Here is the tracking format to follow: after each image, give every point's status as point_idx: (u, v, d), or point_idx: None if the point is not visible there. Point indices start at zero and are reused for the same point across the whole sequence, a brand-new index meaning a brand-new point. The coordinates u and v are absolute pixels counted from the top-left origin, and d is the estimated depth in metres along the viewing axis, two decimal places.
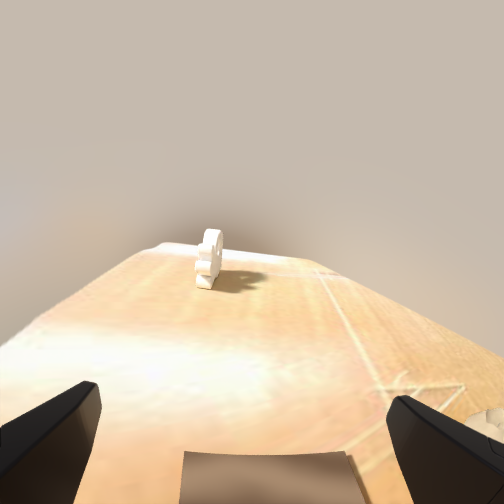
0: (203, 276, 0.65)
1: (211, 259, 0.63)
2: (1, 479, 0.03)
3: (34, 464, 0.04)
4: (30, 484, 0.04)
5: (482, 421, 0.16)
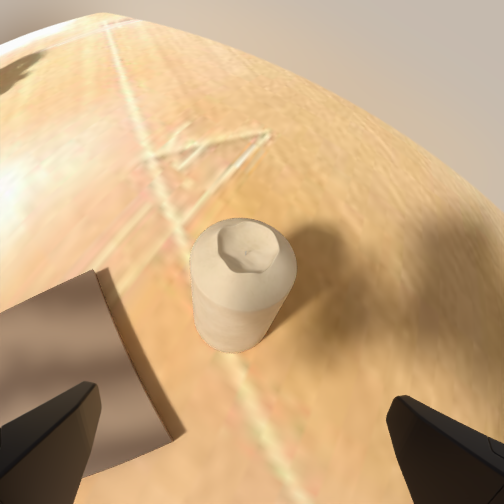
0: None
1: None
2: (1, 479, 0.03)
3: (34, 464, 0.04)
4: (30, 484, 0.04)
5: (212, 250, 0.16)
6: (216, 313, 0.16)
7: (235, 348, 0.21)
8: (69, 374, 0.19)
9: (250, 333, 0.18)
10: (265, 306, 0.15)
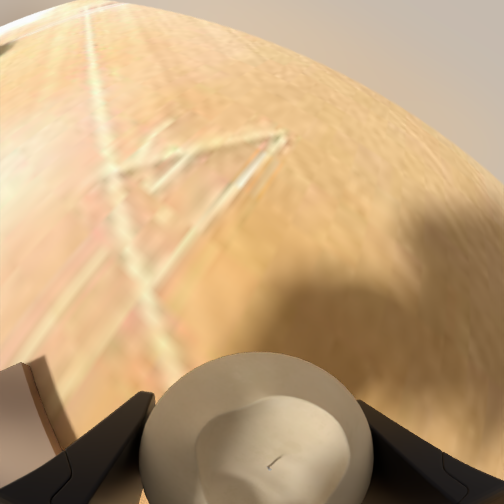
0: None
1: None
2: None
3: (109, 487, 0.04)
4: None
5: (187, 473, 0.05)
6: None
7: None
8: None
9: None
10: None
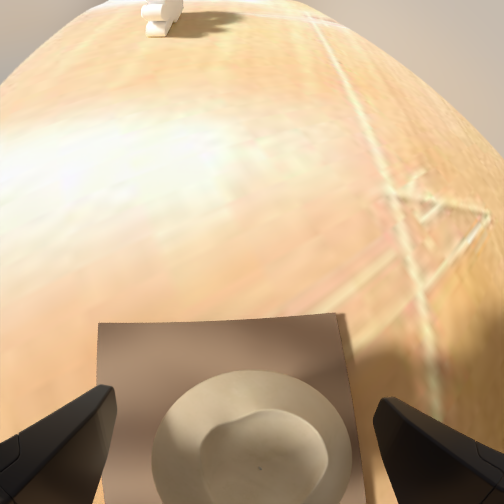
0: (155, 22, 0.38)
1: (163, 1, 0.34)
2: (23, 489, 0.03)
3: (55, 472, 0.04)
4: (51, 492, 0.04)
5: (192, 471, 0.06)
6: None
7: None
8: None
9: None
10: None
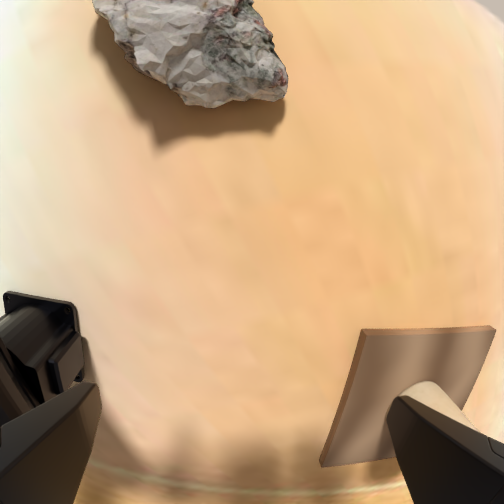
0: None
1: None
2: (1, 479, 0.03)
3: (34, 464, 0.04)
4: (30, 484, 0.04)
5: None
6: None
7: None
8: None
9: None
10: None
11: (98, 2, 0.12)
